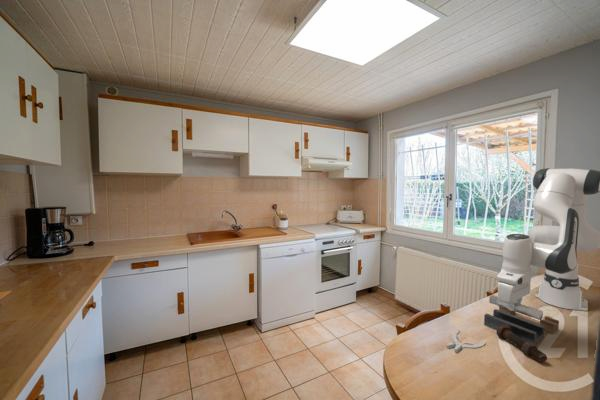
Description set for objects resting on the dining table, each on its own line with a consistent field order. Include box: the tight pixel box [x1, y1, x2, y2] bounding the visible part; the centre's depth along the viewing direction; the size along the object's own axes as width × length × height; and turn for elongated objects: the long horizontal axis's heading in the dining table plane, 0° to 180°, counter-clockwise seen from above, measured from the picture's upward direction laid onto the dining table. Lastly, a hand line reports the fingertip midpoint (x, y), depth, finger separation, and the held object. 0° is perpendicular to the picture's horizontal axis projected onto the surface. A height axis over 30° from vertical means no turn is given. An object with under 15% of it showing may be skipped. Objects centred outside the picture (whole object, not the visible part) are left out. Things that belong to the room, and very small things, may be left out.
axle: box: [488, 294, 544, 321], centre depth 99 cm, size 16×4×4 cm, turn 30°
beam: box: [498, 306, 560, 335], centre depth 107 cm, size 6×18×4 cm, turn 30°
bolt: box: [496, 325, 548, 363], centre depth 89 cm, size 6×5×15 cm
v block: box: [483, 308, 545, 346], centre depth 100 cm, size 10×16×4 cm, turn 30°
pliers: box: [445, 330, 486, 354], centre depth 92 cm, size 10×2×15 cm
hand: (514, 308), depth 99 cm, fingers closed on axle, 3 cm apart
